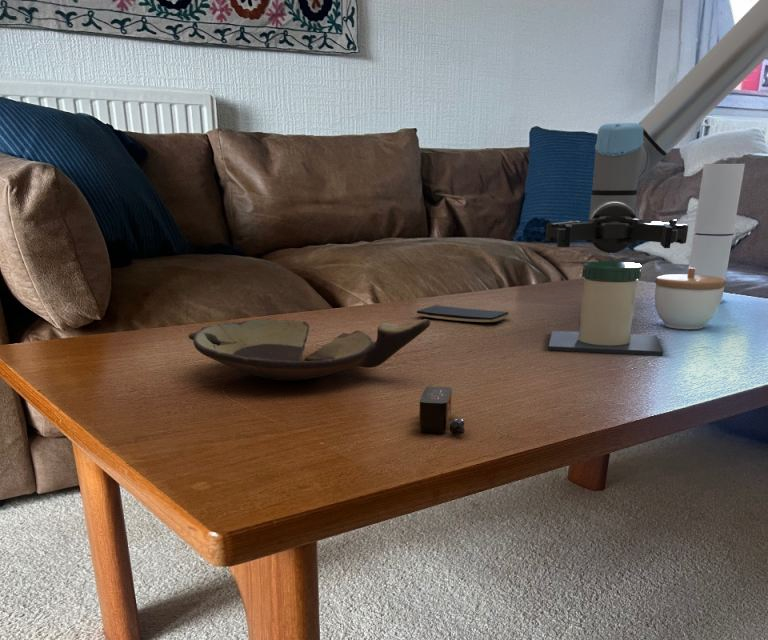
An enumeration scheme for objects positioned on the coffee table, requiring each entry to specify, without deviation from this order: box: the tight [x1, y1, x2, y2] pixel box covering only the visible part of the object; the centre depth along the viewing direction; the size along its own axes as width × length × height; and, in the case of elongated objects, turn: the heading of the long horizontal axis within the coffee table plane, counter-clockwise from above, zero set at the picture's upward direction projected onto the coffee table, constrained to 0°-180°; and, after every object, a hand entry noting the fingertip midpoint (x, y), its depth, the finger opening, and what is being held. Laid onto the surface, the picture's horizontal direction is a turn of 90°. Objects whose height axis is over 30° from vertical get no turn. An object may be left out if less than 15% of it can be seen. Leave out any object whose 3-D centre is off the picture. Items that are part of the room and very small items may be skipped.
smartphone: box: [416, 304, 510, 323], centre depth 138 cm, size 7×1×15 cm
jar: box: [578, 277, 639, 346], centre depth 116 cm, size 8×8×10 cm
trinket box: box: [654, 267, 726, 330], centre depth 129 cm, size 11×11×9 cm
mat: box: [547, 330, 664, 356], centre depth 118 cm, size 16×12×1 cm
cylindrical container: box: [687, 163, 746, 303], centre depth 151 cm, size 7×7×25 cm
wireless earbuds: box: [418, 385, 465, 435], centre depth 80 cm, size 5×7×3 cm, turn 170°
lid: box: [581, 260, 642, 281], centre depth 114 cm, size 8×8×2 cm
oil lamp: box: [188, 318, 431, 382], centre depth 99 cm, size 22×30×8 cm
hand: (617, 237), depth 109 cm, fingers open, 13 cm apart
